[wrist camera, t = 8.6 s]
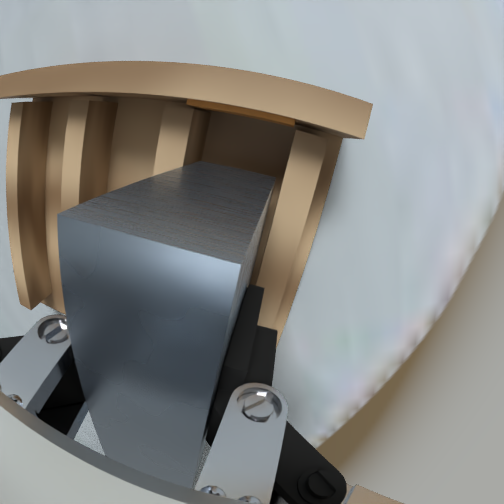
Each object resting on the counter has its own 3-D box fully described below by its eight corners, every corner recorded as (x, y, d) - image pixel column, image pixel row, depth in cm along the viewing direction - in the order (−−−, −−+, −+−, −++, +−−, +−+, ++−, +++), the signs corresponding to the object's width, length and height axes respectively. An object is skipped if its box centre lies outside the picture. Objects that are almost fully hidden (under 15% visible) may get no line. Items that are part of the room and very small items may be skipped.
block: (231, 354, 15) (190, 494, 7) (176, 338, 15) (109, 464, 7) (275, 177, 11) (240, 264, 4) (201, 160, 11) (57, 214, 4)
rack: (263, 374, 19) (254, 433, 14) (44, 297, 19) (5, 330, 15) (345, 114, 12) (373, 104, 8) (46, 80, 13) (-11, 78, 8)
